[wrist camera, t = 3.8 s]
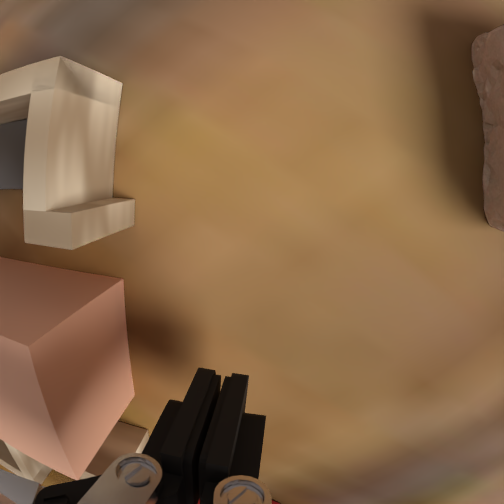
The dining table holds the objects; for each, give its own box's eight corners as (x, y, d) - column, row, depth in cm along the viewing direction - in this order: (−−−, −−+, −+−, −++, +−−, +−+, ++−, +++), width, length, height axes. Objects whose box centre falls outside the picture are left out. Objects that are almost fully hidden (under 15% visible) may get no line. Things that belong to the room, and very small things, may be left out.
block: (135, 393, 14) (78, 480, 8) (20, 354, 15) (-45, 406, 9) (124, 277, 12) (28, 346, 7) (1, 256, 13) (-84, 291, 7)
